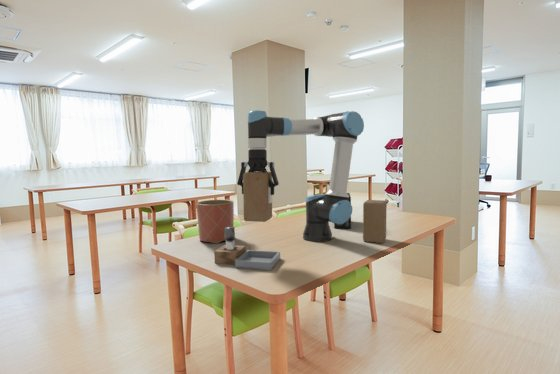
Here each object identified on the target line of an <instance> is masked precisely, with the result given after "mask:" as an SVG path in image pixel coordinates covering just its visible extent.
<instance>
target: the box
mask: <svg viewBox="0 0 560 374" xmlns="http://www.w3.org/2000/svg"><path fill="white" fill-rule="evenodd" d="M346 193H347V195H348V196H349V202H350V203H351V204H352V202H351V200H352V196H351V194H350V192H346ZM333 227H334V229H351V228H352V216H351V217H350V218H349V219H348V220H347V221H346V222H345V223H342V224H338V223H333Z"/></svg>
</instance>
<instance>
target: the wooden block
mask: <svg viewBox="0 0 560 374" xmlns="http://www.w3.org/2000/svg"><path fill="white" fill-rule="evenodd" d="M269 177H270V178H271V180H272V181H273V178H272V175H271V172H270V171H267V172H258V171H256V172H248V171H247V172H246V171H245V173H244V174H243V182H242V183H243V194H242V195H243V220H244V221H245V222H259V223H260V222H261V223H266V222H267V221H269V220H270V219H272V217H273V202H272V203H269V197H268V187H270V185H269V183H268V178H269Z"/></svg>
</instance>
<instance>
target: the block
mask: <svg viewBox="0 0 560 374" xmlns="http://www.w3.org/2000/svg"><path fill="white" fill-rule="evenodd" d="M362 207H363V208H362V210H363V211H362V213H363V214H362V217H363V219H362V226H363V227H362V229H363V231H362V240H363V242H365V241H366V242H365V243H373V242H376V244H384V242H385V241H386V238H387V201H386V200H381V199H380V200H379V199H367V200H366V201H364V202H363V205H362Z"/></svg>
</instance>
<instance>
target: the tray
mask: <svg viewBox="0 0 560 374" xmlns="http://www.w3.org/2000/svg"><path fill="white" fill-rule="evenodd" d="M280 260H281V251H271V250H254V249H246V252H245V253H244V254H242V255H241V256H240V257H239V258H238V259H236V260H235V264H234V267H235V268H236V269H244V270H246V269H247V270H261V271H272V270H273V269H274V267H275V266H276V265H277V263H278V262H279V261H280Z"/></svg>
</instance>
